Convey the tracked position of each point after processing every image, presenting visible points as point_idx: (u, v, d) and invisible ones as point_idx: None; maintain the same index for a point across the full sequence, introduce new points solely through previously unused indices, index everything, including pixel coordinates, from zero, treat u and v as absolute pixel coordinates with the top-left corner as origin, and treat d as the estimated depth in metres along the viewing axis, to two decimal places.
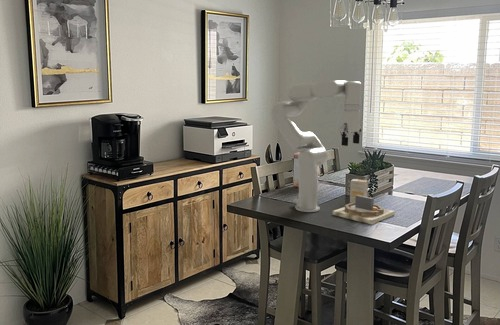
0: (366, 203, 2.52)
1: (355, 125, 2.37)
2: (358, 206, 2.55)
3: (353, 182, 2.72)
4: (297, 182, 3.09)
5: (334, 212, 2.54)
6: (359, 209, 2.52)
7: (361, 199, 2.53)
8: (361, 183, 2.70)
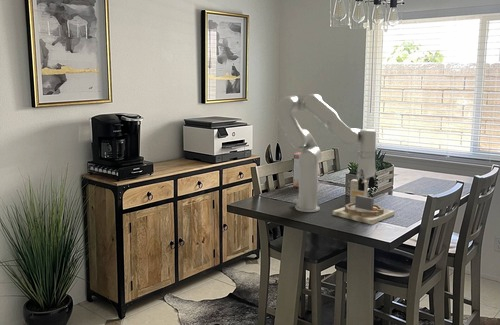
0: (366, 203, 2.52)
1: (371, 171, 2.49)
2: (358, 206, 2.55)
3: (353, 182, 2.72)
4: (297, 182, 3.09)
5: (334, 212, 2.54)
6: (359, 209, 2.52)
7: (361, 199, 2.53)
8: None
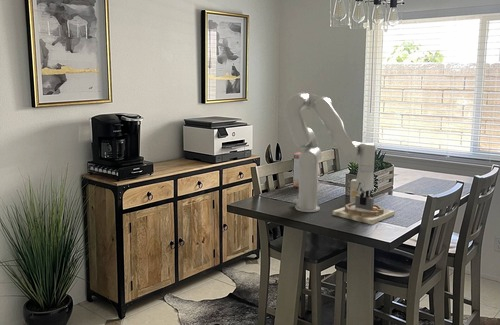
0: (366, 203, 2.52)
1: (369, 184, 2.50)
2: (358, 206, 2.55)
3: (353, 182, 2.72)
4: (297, 182, 3.09)
5: (334, 212, 2.54)
6: (359, 209, 2.52)
7: None
8: None
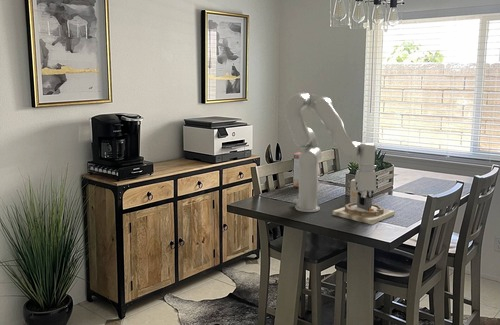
0: (364, 203, 2.52)
1: (367, 184, 2.49)
2: (359, 206, 2.56)
3: (353, 182, 2.72)
4: (297, 182, 3.09)
5: (334, 212, 2.54)
6: (357, 208, 2.54)
7: None
8: None
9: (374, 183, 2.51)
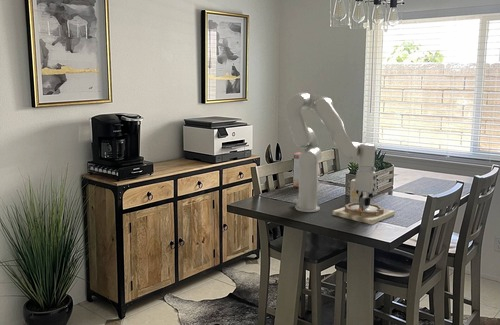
0: None
1: (362, 185, 2.50)
2: None
3: (353, 182, 2.72)
4: (297, 182, 3.09)
5: (334, 212, 2.54)
6: (358, 207, 2.56)
7: None
8: None
9: (369, 185, 2.48)
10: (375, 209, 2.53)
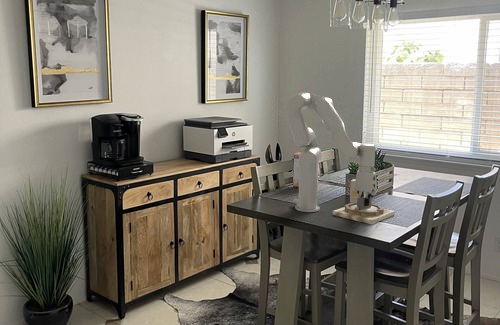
0: None
1: (362, 185, 2.51)
2: None
3: (353, 182, 2.72)
4: (297, 182, 3.09)
5: (334, 212, 2.54)
6: None
7: None
8: None
9: (369, 185, 2.48)
10: (374, 210, 2.51)
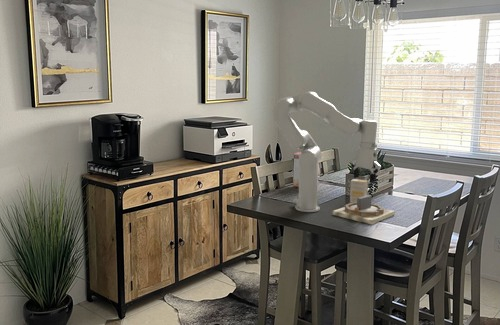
0: None
1: (362, 161, 2.48)
2: None
3: (353, 182, 2.72)
4: (297, 182, 3.09)
5: (334, 212, 2.54)
6: None
7: None
8: (361, 183, 2.70)
9: (369, 162, 2.46)
10: (374, 210, 2.51)
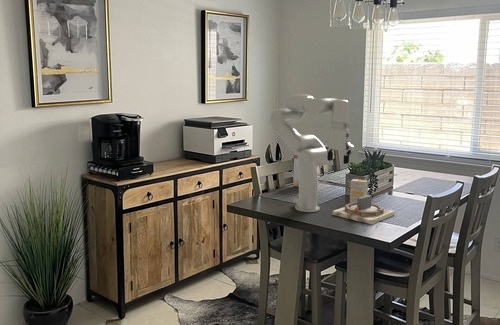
0: None
1: (335, 143, 2.39)
2: None
3: (353, 182, 2.72)
4: (297, 182, 3.09)
5: (334, 212, 2.54)
6: None
7: None
8: (361, 183, 2.70)
9: (342, 143, 2.36)
10: (374, 210, 2.51)
